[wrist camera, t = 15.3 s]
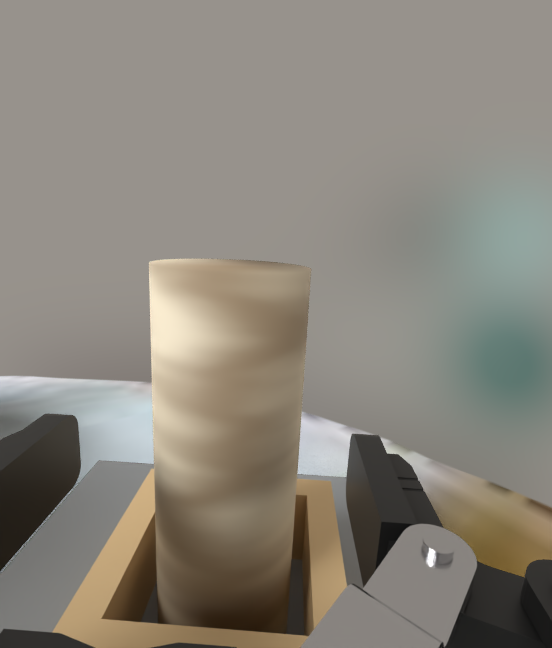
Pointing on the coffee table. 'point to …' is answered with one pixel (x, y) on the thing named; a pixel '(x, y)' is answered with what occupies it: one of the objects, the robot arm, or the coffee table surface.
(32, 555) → the collar board
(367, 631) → the robot arm
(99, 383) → the coffee table surface
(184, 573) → the wooden peg
